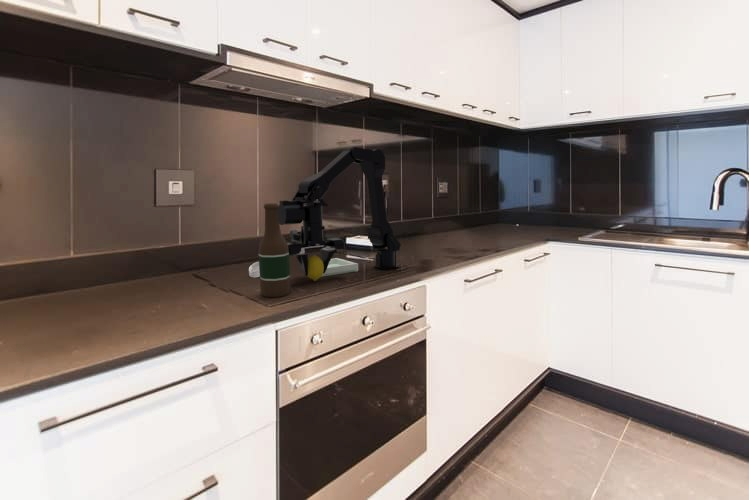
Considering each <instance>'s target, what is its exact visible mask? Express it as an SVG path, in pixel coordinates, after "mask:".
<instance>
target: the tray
mask: <svg viewBox="0 0 749 500" xmlns="http://www.w3.org/2000/svg"><path fill="white" fill-rule="evenodd" d="M358 271H359V263H356V262H353V261H349V260H347V259H342V258H338V257H335V258H331V260H330V262H329V264H328V267H327V269H326V271H325V273H323V274H322V276H321V277H320V278H322V277H328V276H336V275H341V274H348V273H355V272H358Z"/></svg>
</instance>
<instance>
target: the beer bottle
mask: <svg viewBox="0 0 749 500" xmlns="http://www.w3.org/2000/svg"><path fill="white" fill-rule="evenodd" d="M278 208H279V204H278V203H277V202H276V203H275V202H271V203H270V202H269V203H265V204H264V205H263V209H264V232H263V233H264V234H263V236H262V237H261V239H260V242H259V245H258V262H259V271H260V277H259V284H260V285H259V286H260V293H261V296H263V297H264V298H265V297H266V298H280V296H281V297H286V296H287V295H289V294H291V285H292V284H291V267H290V255H289V249H288V244H287V243H288V241H287V240H286V238H285V237H284V235H282V231H281V226H280V224H279V216H278Z"/></svg>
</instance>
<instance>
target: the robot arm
mask: <svg viewBox="0 0 749 500" xmlns="http://www.w3.org/2000/svg"><path fill="white" fill-rule="evenodd" d="M353 163H354V164H357V165H360V169H361V172H362V173H363V175H364V176H365V178H366V180H367V188H368V189H367V190H368V197H369V203H370V204H369V205H370V214H371V220H372V221H371V224H370V226H367V229H366V230H367V231H366V232H367V240H369V242H370V244H371V245H372V249H373V250H375V252H376V253H375V264H374V265H373V266H374V268H378V269H380V270H390V269H396V268H399V267H400V265H397V252H398V251H400V249H401V247H402V246H401V245H402V244H401V243H400V242H399V240H398V238H396V237H395V234H394V230H393V227H392V225H391V224H390V222H389V221H388V217H387V210H386V209H387V208H386V202H385V201H386V199H385V192H384V184H383V183H384V182H383V175H384V172H385V170H386V155H385V153H384V152H383V151H382V150H381V149H367V148H360V147H359V146H349V147H345V148H344V149H343V150H342V152H341V153H339V154H338V155H337V156H336V157H334V159H333V160H332V161H330V162H329V163H328V164H327V165H326V166H325V167H324V168H322V169H321V170H320V171H319V172H317V173H315V174H313V175H310V176H308V177H307V178H304V179H303V180H301V181H300V183H299V184H298V190H297V192H296V193H295V195H294V196H293V198H292V200H279V204H278V206H279V208H278V216H279V224H280V225H281V226H285V225H288V226H289V225H300V224H302V225H301V226H300V231H298V229H295V230H294V229H293V230H292V229H291V231H289V238H290V241H289V242H287V244H288V249H289V256H290V255H291V256H294V257H295V258H296V260H297V261H298V263H299V265H300V268H301V270H302V273H303V275H304V276H305V277H308V276H307V273H308V258H309V256H308V255H309V254H308V253H306V250H307V251H310V250H318V249H319V252H320V254H321V260H322V262H323V265H324V272H323V273H325V271H326V269H327V267H328V264H329V262H330V260H331V259H333V256H334V255H335V253H337V252H338V251H337V250H342V249H344V250H345V249H346V242H345V241H344V239H342V238H337V237H334V238H333V237H331V238H326V239H324V232H323V231H324V230H326V226H325V225H323V223H324V222H323V208H326V207H329V204H328V202H326V201H325V200H324V198H323V197H324V196H325V194H326V193H327V192H328V191H329V188H330V186H331V184H332V182H333V181H334V180H336V178H337V177H339V176H340V175H341V174H342V173H343V172H344V171H345V170H347V169H348V167H350V166H351V165H352V164H353ZM305 204H306V205H305Z"/></svg>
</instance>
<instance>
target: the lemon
mask: <svg viewBox="0 0 749 500" xmlns="http://www.w3.org/2000/svg"><path fill="white" fill-rule="evenodd" d="M323 272H324V265H323V262H322V258H320V257H319V256H317V255H316V254H312V256H310V257H308V273H307V276H306V277H308V278H309V279H311V280H312V281H314V282H317V280H318V279H320V278H322V277H321V276H322V274H323Z"/></svg>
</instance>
